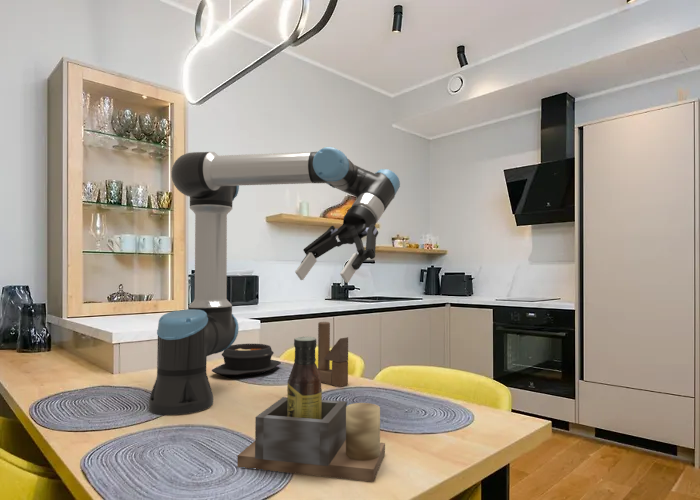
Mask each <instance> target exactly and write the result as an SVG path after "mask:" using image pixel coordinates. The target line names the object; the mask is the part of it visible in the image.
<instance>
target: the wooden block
mask: <svg viewBox="0 0 700 500" xmlns="http://www.w3.org/2000/svg"><path fill="white" fill-rule="evenodd" d="M317 325H318V328H317V331H318V332H317V335H318V337H317V340H318V341H317V343H318V344H317V368H318V369H319V371H320V373H321V384H322V383H323V384H325V385H326V384H327V385H330V386H333V387H336V388H337V387H338V388H342V387H347V386H348V385H349V337H342V338H341V337H340V338H339V339H338V340H337V341H336V343H335V344H334V345H333V346H332V347H331V339H330V338H331V323H330V322H329V321H319V322H318V324H317ZM330 348H331V349H330ZM330 362H331V363H330ZM330 364H331V365H330ZM330 366H331V367H330Z"/></svg>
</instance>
